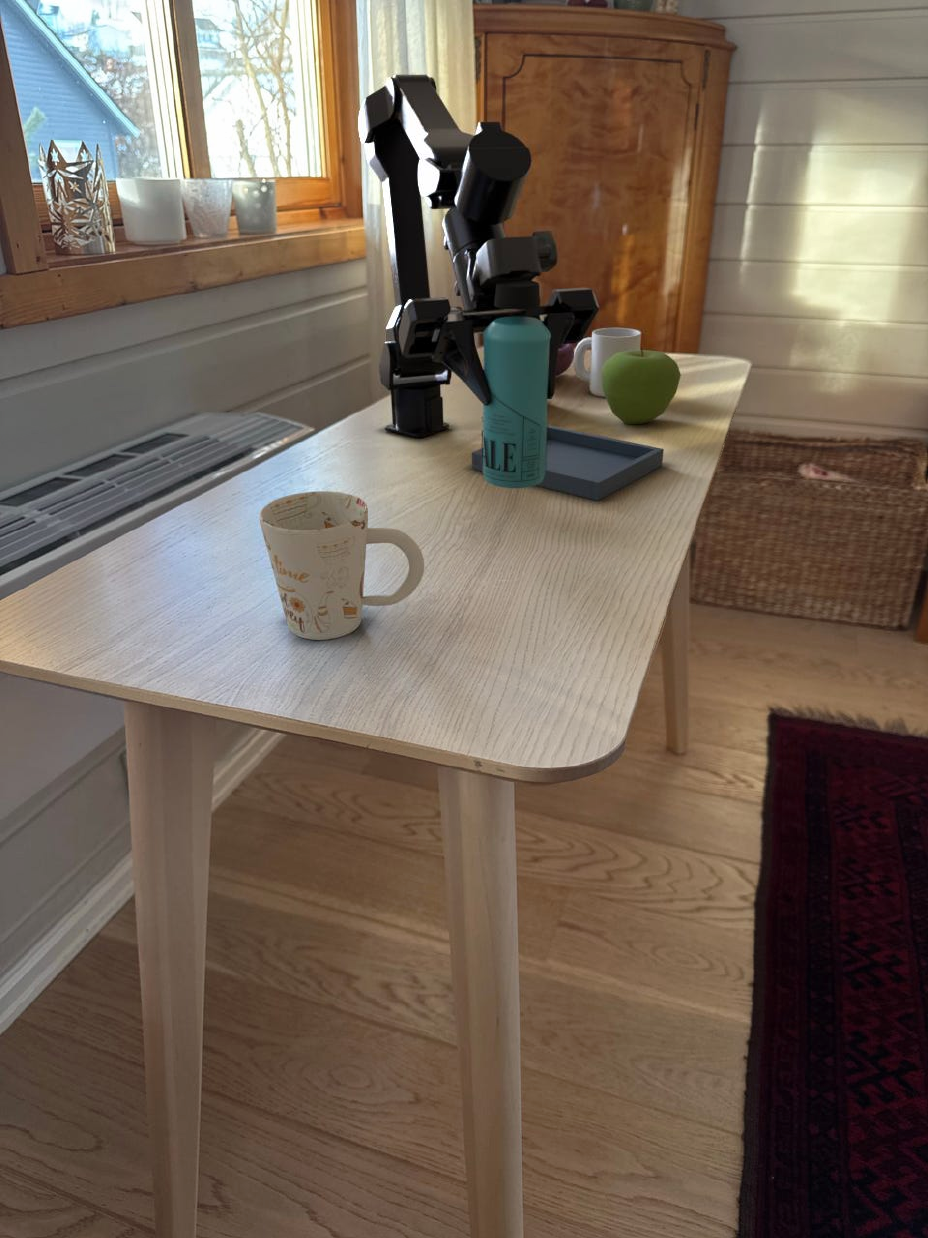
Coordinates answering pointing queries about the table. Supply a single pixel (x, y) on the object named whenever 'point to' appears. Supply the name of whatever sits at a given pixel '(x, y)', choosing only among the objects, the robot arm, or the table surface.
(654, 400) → the apple
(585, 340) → the cup
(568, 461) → the tray
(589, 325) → the robot arm
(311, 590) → the mug
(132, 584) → the table surface
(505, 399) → the beverage bottle
